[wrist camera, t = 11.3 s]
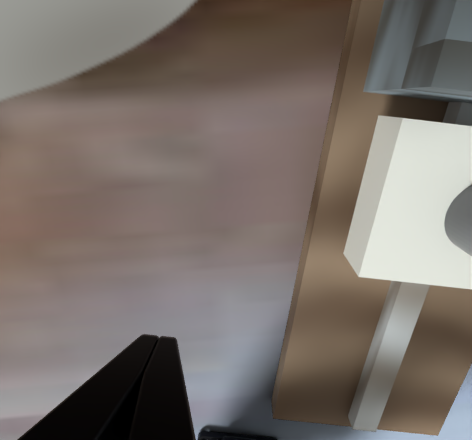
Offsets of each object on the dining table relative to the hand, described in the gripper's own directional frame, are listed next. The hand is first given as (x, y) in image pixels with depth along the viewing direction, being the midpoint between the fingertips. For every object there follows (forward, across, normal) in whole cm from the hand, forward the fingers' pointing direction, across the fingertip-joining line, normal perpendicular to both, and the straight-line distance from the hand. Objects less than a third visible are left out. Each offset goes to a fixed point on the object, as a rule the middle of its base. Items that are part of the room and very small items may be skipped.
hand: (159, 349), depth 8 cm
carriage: (+9, -12, -3) cm, 15 cm away
